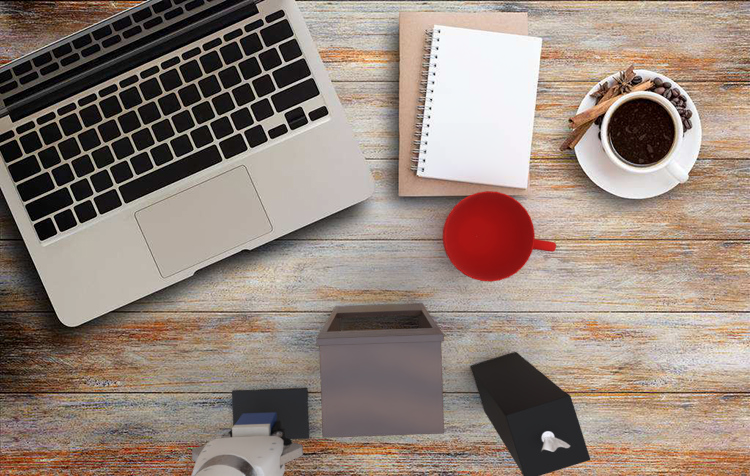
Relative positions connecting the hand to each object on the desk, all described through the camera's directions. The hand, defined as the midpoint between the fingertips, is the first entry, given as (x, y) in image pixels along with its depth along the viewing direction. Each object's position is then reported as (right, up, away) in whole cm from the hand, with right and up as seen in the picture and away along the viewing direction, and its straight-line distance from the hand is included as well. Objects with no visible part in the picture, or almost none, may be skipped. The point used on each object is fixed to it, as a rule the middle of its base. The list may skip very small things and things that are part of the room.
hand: (259, 432), depth 79 cm
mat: (0, 0, +9) cm, 9 cm away
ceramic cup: (+35, +28, +9) cm, 46 cm away
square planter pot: (+18, +11, +8) cm, 23 cm away
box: (0, 0, +1) cm, 1 cm away
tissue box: (+37, +5, +9) cm, 38 cm away
